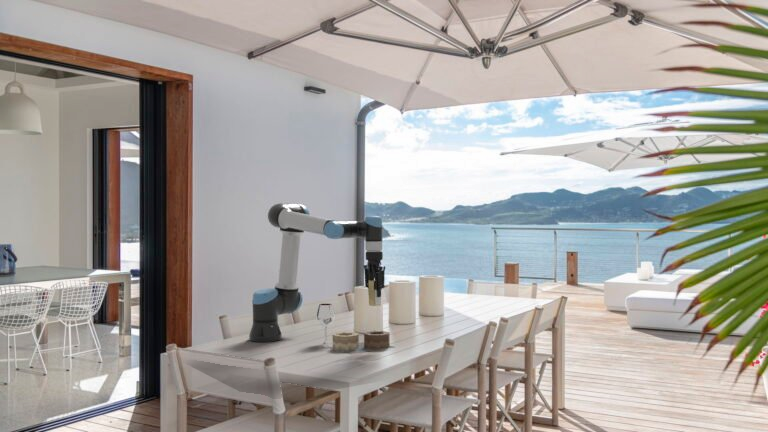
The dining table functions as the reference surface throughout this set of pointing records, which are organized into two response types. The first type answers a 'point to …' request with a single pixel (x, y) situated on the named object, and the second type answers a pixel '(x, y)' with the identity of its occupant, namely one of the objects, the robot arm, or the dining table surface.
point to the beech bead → (345, 341)
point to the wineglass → (325, 316)
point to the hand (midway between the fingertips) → (374, 303)
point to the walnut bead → (376, 339)
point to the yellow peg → (372, 293)
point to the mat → (360, 349)
